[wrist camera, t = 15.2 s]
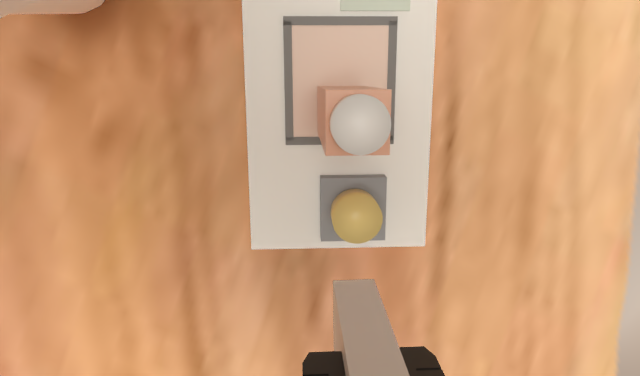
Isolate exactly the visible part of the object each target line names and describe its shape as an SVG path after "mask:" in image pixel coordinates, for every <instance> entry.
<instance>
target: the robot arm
mask: <svg viewBox="0 0 640 376" xmlns="http://www.w3.org/2000/svg"><path fill="white" fill-rule="evenodd" d="M333 330H334V351H332V352H309V354H308V355H307V357H306V358H305V360H304V362H303V376H445V375H444V373H443V371H442V370H441V367H440V365H439V363H438V361H437V358H436V356H435V355H433V354H432V353H431V352H430V351H429V350H427V349H426V348H425V347H424V346H423V347H399V346H398V343H397V340H396V338H395V335H394V332H393V329H392V327H391V324H390V321H389V319H388V316H387V313H386V310H385V308H384V305H383V302H382V300H381V297H380V294H379V292H378V289H377V286H376V283H375V281H374V279H362V280H334V281H333Z"/></svg>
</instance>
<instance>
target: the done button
mask: <svg viewBox="0 0 640 376" xmlns="http://www.w3.org/2000/svg"><path fill="white" fill-rule="evenodd" d="M330 213H331V219H332V224H333V227H334V230H335V232H336V233H337V235H338V236H339V237H340V238H341V239H343V240H344V241H346V242H349V243H354V244H360V243H364V242H367V241H369V240H371V239H372V238H374V237H375V236H376V235H377V234H378V232H379V231H380V229H381V226H382V222H383V216H382V211H381V209H380V207H379V205H378V204H377V202H376V200H375V199H374V197H373V196H372V195H371V194H369V193H368V192H366V191H364V190H361V189H349V190H346V191H343V192H342V193H340V194H339V195H338V196H337V197H336V198H335V200H334V201H333V203H332V206H331V212H330Z"/></svg>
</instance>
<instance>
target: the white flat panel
mask: <svg viewBox="0 0 640 376" xmlns="http://www.w3.org/2000/svg"><path fill="white" fill-rule="evenodd" d="M436 18H437V0H242V20H243V45H244V71H245V97H246V122H247V148H248V173H249V199H250V225H251V250H252V249H306V248H359V247H412V246H425V236H426V216H427V196H428V176H429V157H430V137H431V117H432V97H433V77H434V57H435V37H436ZM317 86H369V87H376V88H384V89H392V97H391V131H390V155H354V156H325V153H324V150H323V147H322V144H321V141H320V138H319V135H318V130H317ZM349 189H361V190H364V191H366V192H368V193H369V194H371V195H372V196H373V197H374V199H375V200H376V202H377V204H378V205H379V207H380V209H381V211H382V216H383V222H382V226H381V229H380V231H379V232H378V234H377V235H376V236H375V237H374V238H372V239H371V240H369V241H367V242H364V243H360V244H354V243H349V242H346V241H344V240H343V239H341V238H340V237H339V236H338V235H337V233H336V232H335V230H334V227H333V224H332V219H331V213H330V212H331V206H332V203H333V201H334V200H335V198H336V197H337V196H338V195H339V194H340V193H342V192H343V191H346V190H349Z"/></svg>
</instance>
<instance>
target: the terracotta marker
mask: <svg viewBox="0 0 640 376" xmlns="http://www.w3.org/2000/svg"><path fill="white" fill-rule="evenodd" d="M391 97H392V89H384V88H376V87H369V86H317V130H318V135H319V138H320V141H321V144H322V147H323V150H324V153H325V156H354V155H390V131H391Z"/></svg>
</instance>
